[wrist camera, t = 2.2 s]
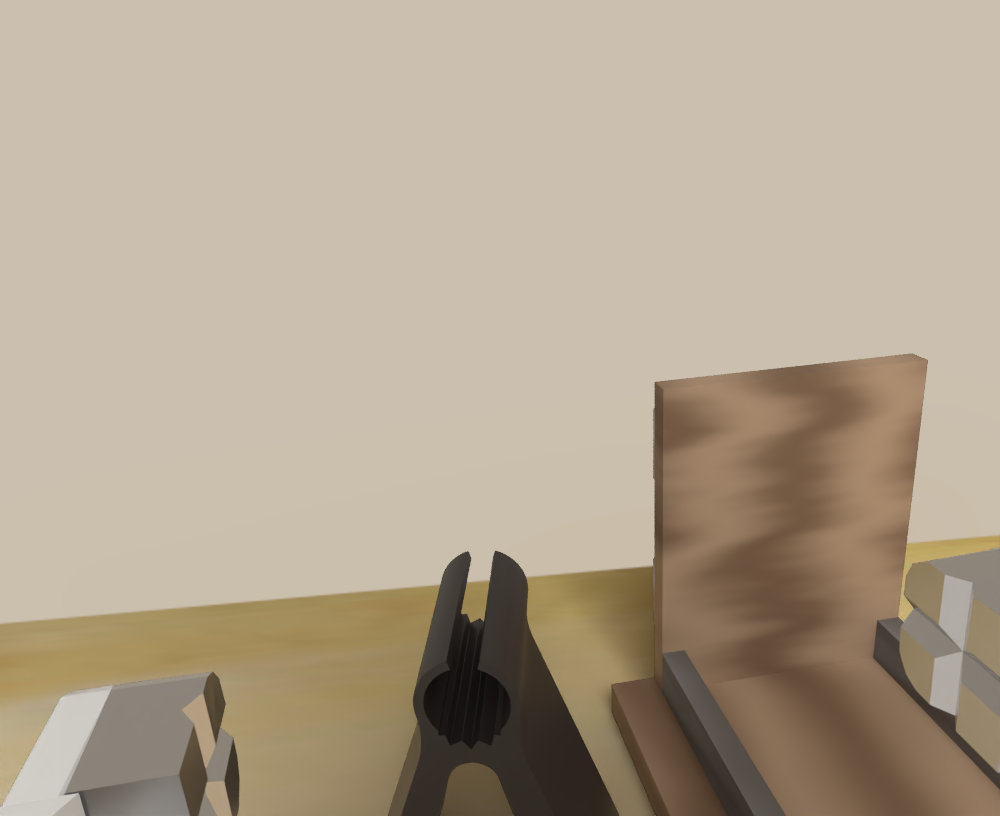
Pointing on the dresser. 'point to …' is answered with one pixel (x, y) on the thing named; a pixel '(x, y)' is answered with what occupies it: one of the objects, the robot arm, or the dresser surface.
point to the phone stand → (494, 708)
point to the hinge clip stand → (790, 604)
